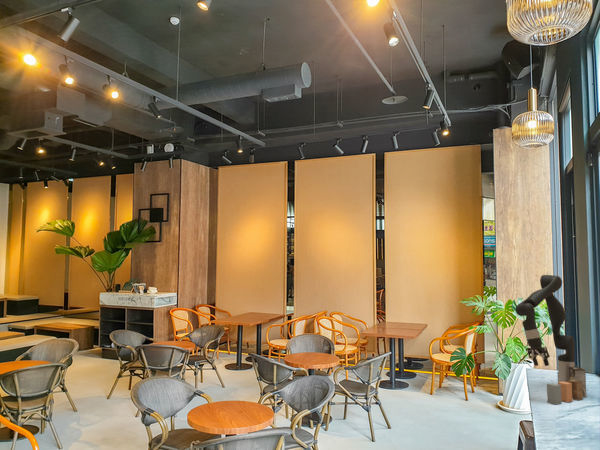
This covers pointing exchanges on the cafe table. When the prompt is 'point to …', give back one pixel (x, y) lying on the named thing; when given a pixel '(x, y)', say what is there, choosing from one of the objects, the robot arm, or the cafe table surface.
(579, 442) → the cafe table surface
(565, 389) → the terracotta block
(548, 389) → the slate block
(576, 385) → the walnut block
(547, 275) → the robot arm
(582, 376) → the coffee box
